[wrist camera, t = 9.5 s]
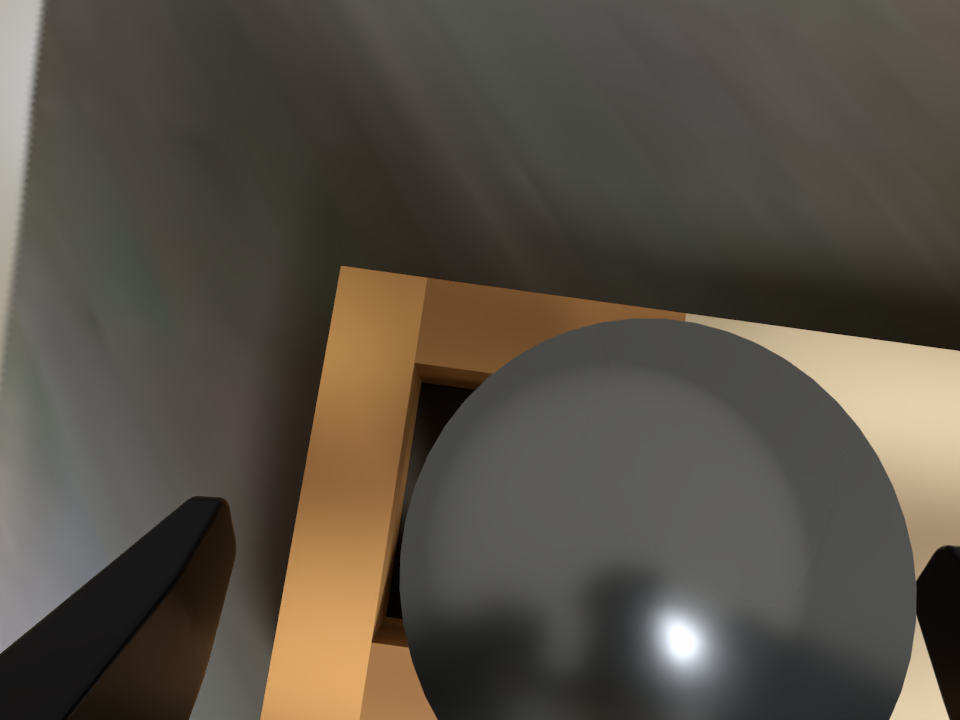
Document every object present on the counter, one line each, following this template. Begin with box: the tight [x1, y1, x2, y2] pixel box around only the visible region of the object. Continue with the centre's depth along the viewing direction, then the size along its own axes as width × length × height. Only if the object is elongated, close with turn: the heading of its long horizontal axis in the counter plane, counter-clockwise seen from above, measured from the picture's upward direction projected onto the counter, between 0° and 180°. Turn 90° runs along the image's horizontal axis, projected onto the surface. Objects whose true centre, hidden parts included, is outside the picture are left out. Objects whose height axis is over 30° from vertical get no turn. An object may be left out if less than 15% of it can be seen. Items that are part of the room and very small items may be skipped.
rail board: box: [260, 266, 960, 720], centre depth 17 cm, size 10×25×3 cm, turn 82°
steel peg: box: [400, 319, 917, 720], centre depth 12 cm, size 4×4×13 cm
